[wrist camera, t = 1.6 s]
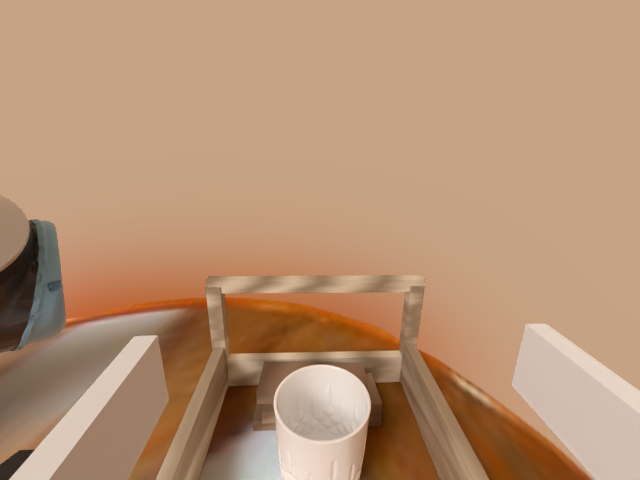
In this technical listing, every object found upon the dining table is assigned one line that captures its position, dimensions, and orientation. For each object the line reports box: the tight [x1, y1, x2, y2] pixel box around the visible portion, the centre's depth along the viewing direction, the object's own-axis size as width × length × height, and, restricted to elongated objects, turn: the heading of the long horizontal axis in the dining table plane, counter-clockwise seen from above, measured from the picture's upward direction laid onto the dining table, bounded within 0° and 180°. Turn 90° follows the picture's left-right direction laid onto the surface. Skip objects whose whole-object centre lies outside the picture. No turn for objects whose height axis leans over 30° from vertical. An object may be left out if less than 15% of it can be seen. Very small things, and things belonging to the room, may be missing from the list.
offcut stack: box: [253, 361, 383, 431], centre depth 35 cm, size 14×6×5 cm, turn 93°
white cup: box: [274, 365, 371, 480], centre depth 26 cm, size 8×8×10 cm
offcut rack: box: [156, 275, 489, 480], centre depth 28 cm, size 25×21×15 cm
